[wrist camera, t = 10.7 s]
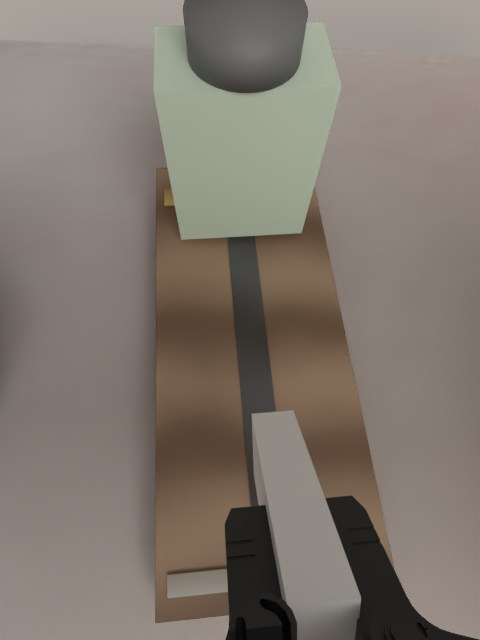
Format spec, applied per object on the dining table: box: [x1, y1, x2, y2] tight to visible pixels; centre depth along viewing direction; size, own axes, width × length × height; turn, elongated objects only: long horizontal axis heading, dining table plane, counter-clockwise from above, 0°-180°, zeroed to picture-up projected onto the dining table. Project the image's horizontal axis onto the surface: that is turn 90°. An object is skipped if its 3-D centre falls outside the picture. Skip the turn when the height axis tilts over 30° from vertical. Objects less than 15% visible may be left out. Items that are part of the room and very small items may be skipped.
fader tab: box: [153, 0, 342, 240], centre depth 19 cm, size 4×7×11 cm, turn 95°
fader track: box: [155, 168, 395, 623], centre depth 22 cm, size 24×10×2 cm, turn 5°
